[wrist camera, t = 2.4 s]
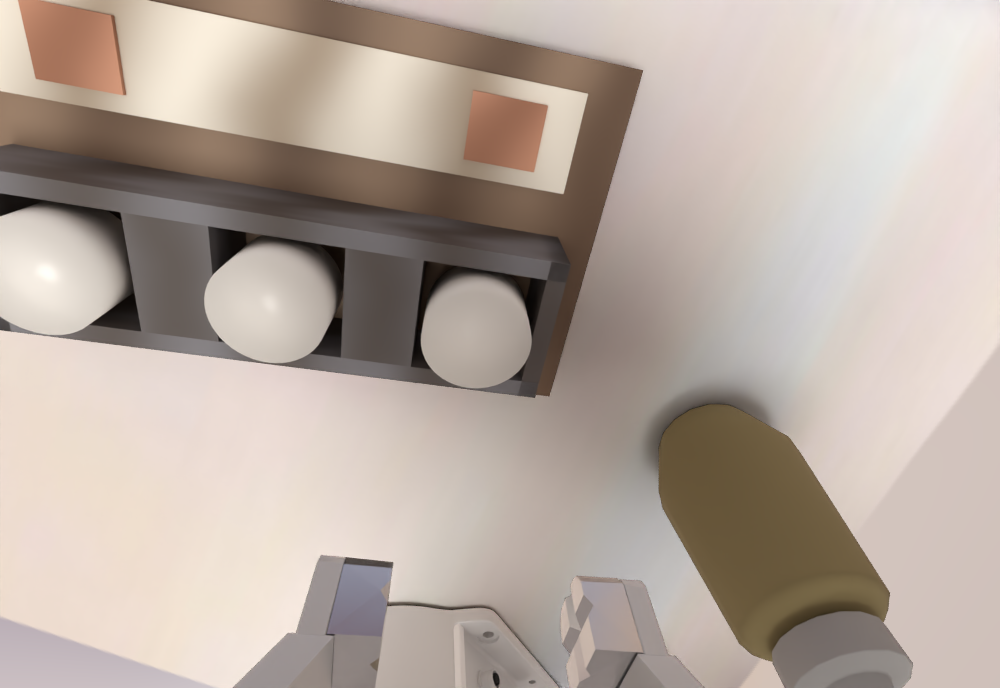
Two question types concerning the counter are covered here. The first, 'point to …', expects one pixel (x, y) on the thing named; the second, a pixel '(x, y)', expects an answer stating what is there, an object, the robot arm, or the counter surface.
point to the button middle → (274, 298)
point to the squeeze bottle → (776, 552)
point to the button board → (312, 161)
